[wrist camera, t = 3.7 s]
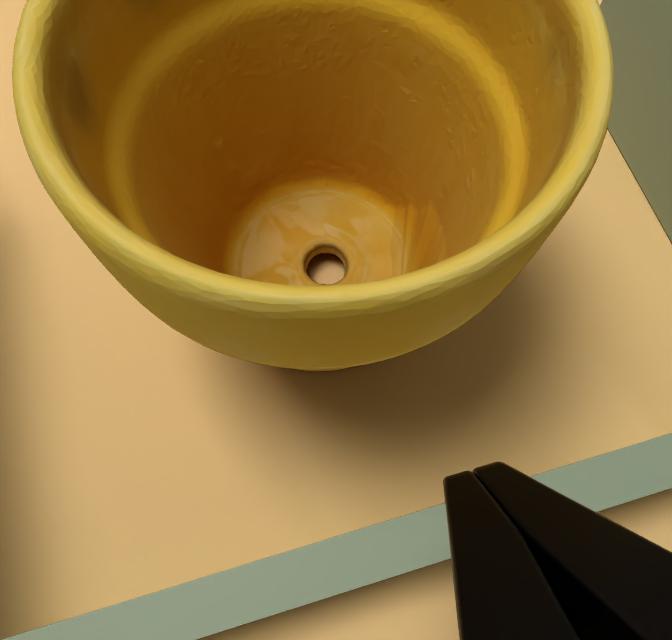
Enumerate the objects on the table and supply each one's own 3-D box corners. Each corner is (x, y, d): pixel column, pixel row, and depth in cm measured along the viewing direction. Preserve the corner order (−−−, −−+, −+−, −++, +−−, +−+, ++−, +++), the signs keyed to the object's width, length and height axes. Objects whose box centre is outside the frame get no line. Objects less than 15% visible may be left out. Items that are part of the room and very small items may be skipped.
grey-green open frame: (820, 432, 17) (1765, 224, 6) (-66, 714, 14) (-1466, 1323, 3) (600, 56, 22) (872, -440, 11) (-83, 215, 20) (-643, -220, 8)
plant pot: (541, 244, 19) (726, -24, 10) (362, 507, 16) (396, 463, 7) (295, 99, 21) (265, -230, 12) (98, 307, 18) (-137, 76, 9)
